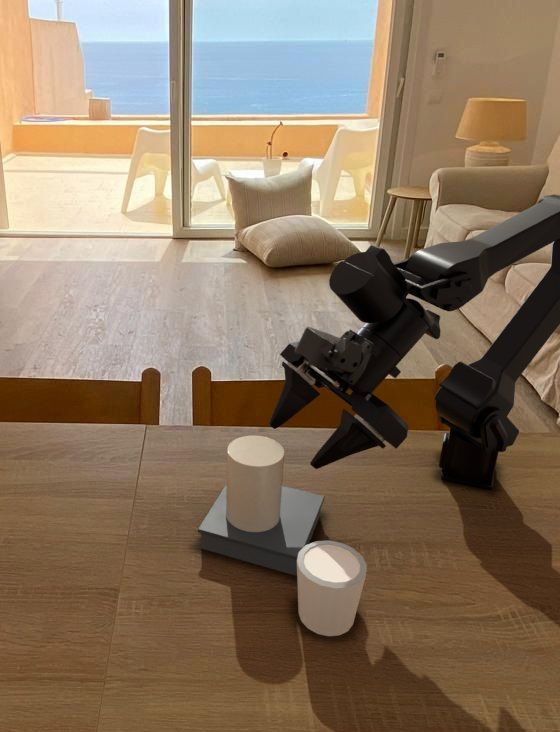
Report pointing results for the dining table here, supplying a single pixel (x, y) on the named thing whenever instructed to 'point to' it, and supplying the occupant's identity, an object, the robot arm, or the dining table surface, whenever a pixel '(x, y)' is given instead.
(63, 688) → the dining table surface
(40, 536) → the dining table surface
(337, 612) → the shot glass
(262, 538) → the storage box
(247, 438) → the cream pillar candle
